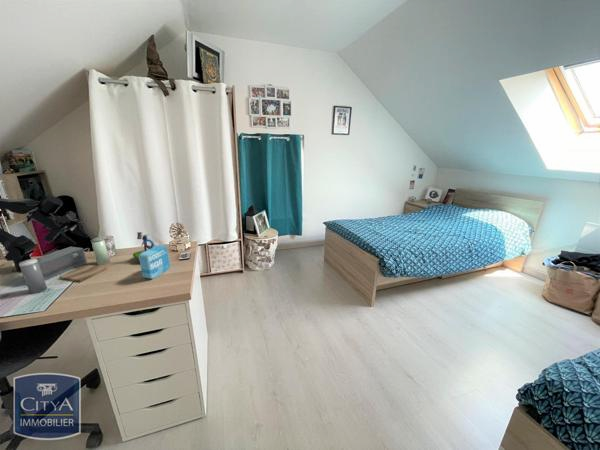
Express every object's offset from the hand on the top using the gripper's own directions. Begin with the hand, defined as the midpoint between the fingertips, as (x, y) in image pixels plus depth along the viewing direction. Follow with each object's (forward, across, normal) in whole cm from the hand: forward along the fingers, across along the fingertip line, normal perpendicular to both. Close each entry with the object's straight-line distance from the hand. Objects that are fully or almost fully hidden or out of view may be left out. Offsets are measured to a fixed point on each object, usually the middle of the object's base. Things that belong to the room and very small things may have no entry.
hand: (82, 240), depth 120 cm
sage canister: (+14, 0, +4) cm, 14 cm away
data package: (+35, -16, -17) cm, 42 cm away
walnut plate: (+12, -11, +6) cm, 17 cm away
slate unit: (+2, -6, +16) cm, 17 cm away
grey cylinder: (+4, -23, +13) cm, 27 cm away
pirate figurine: (+28, +1, -10) cm, 30 cm away
